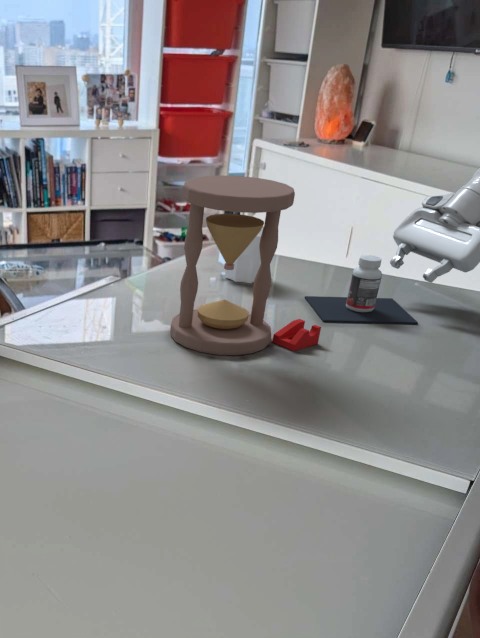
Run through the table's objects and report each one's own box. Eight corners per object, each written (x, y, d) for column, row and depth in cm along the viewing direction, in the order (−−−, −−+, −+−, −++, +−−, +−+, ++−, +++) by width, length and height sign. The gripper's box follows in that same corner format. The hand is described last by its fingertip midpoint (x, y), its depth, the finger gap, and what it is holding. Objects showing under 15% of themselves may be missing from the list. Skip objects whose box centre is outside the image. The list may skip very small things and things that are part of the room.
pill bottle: (342, 303, 150) (353, 253, 145) (370, 304, 150) (382, 254, 145) (347, 312, 146) (359, 260, 140) (376, 314, 146) (388, 262, 140)
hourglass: (261, 321, 141) (284, 177, 127) (278, 358, 127) (306, 199, 113) (166, 317, 141) (179, 173, 127) (172, 353, 126) (187, 195, 113)
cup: (276, 280, 163) (284, 233, 157) (241, 286, 158) (248, 238, 153) (245, 268, 170) (252, 222, 164) (211, 274, 165) (216, 227, 160)
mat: (391, 300, 154) (392, 298, 154) (417, 324, 143) (418, 322, 142) (304, 298, 154) (304, 296, 153) (323, 322, 142) (323, 320, 142)
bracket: (296, 335, 136) (299, 318, 134) (317, 343, 133) (321, 327, 131) (272, 342, 132) (275, 325, 131) (293, 351, 129) (296, 334, 128)
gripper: (511, 242, 139) (453, 299, 141) (432, 216, 155) (382, 268, 157) (500, 218, 135) (441, 277, 137) (421, 194, 151) (369, 248, 153)
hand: (409, 272), depth 147 cm, fingers open, 8 cm apart
